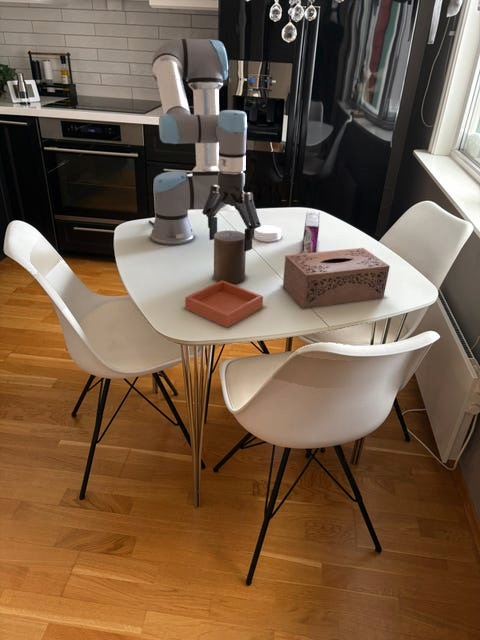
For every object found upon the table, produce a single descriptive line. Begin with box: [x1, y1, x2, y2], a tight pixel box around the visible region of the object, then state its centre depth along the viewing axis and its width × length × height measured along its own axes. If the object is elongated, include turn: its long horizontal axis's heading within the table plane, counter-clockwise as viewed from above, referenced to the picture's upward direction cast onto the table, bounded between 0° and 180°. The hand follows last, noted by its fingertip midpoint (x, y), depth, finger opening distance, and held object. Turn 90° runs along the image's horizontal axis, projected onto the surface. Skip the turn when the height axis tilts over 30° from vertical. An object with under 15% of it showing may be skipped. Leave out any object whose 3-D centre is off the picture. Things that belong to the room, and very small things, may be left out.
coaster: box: [254, 224, 282, 243], centre depth 181 cm, size 10×10×4 cm
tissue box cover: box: [282, 247, 391, 309], centre depth 141 cm, size 26×14×10 cm, turn 108°
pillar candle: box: [213, 230, 247, 285], centre depth 146 cm, size 10×10×15 cm
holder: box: [184, 280, 264, 328], centre depth 132 cm, size 15×15×4 cm
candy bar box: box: [301, 211, 321, 254], centre depth 171 cm, size 11×5×16 cm
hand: (230, 244), depth 144 cm, fingers open, 13 cm apart
